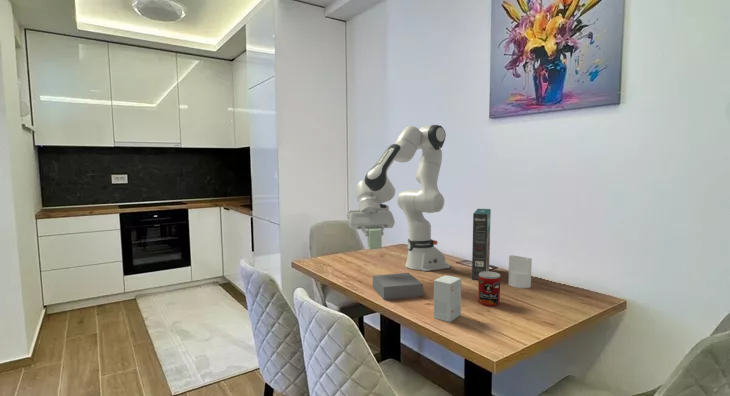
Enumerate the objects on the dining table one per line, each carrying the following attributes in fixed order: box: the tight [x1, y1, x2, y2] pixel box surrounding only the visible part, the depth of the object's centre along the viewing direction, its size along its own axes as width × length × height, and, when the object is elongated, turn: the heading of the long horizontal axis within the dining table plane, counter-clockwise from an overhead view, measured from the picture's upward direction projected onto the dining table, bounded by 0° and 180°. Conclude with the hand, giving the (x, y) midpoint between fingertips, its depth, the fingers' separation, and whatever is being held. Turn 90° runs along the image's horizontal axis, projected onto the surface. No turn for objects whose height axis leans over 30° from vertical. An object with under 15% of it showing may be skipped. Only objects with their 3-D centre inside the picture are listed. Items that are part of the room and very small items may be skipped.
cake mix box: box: [471, 208, 492, 281], centre depth 178 cm, size 22×6×30 cm, turn 158°
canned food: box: [477, 270, 501, 307], centre depth 141 cm, size 8×8×11 cm
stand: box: [372, 272, 424, 301], centre depth 154 cm, size 16×16×5 cm
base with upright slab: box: [507, 254, 533, 289], centre depth 163 cm, size 9×9×12 cm
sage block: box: [366, 228, 383, 250], centre depth 164 cm, size 5×5×8 cm
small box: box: [433, 274, 462, 323], centre depth 128 cm, size 8×6×13 cm
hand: (374, 235), depth 163 cm, fingers closed on sage block, 5 cm apart
